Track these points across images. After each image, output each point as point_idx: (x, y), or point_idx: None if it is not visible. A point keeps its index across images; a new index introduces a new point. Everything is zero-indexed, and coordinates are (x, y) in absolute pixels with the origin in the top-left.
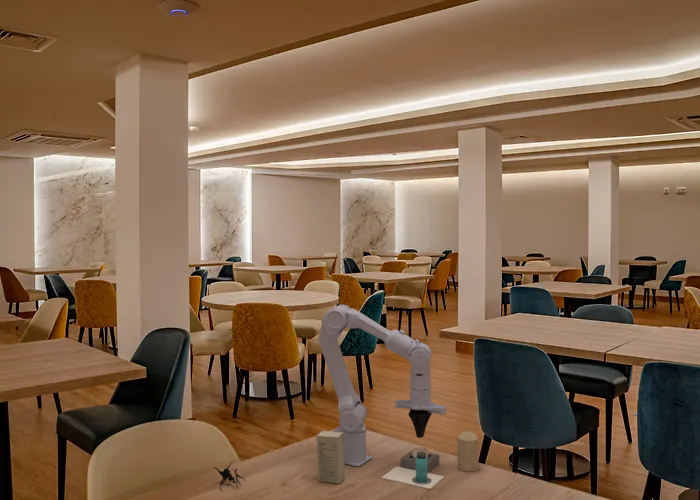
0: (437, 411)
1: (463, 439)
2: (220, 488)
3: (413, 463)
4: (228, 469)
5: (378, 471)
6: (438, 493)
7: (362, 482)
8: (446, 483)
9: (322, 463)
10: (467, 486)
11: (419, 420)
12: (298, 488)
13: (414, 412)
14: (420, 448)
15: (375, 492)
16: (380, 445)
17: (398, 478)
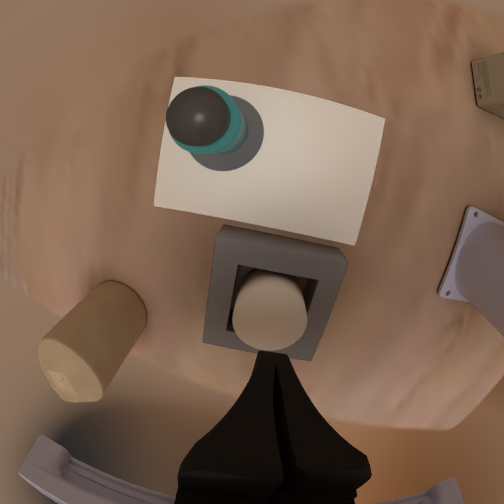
0: (92, 483)
1: (61, 346)
2: None
3: (286, 246)
4: None
5: (408, 185)
6: (145, 65)
7: (425, 77)
8: (136, 156)
9: None
10: (78, 164)
11: (258, 431)
12: None
13: (315, 492)
14: (273, 341)
15: (357, 8)
16: (408, 385)
17: (320, 121)
